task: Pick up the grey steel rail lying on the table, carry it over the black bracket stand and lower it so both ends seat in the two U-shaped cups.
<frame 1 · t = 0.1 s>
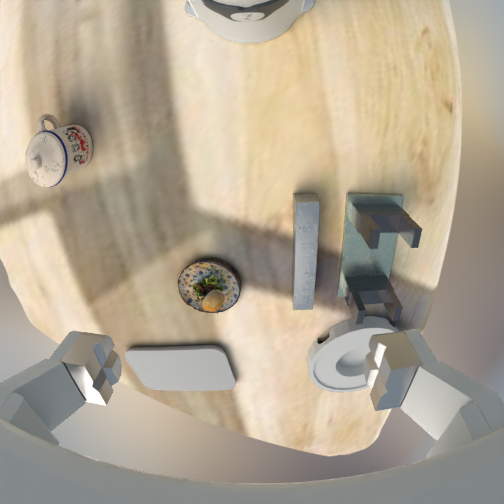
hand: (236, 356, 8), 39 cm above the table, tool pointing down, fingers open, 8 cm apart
bracket stand: (368, 247, 50), on the table
rail: (302, 248, 51), on the table
ashtray: (354, 350, 64), on the table
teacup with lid: (72, 140, 42), on the table
burger: (210, 283, 55), on the table
tablet: (181, 364, 68), on the table
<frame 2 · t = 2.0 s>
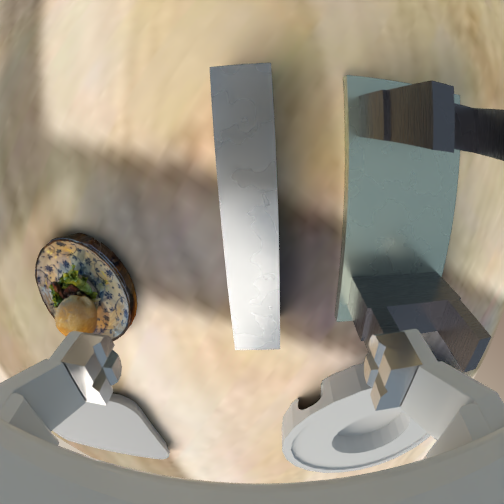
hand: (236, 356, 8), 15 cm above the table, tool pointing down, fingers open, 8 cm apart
bracket stand: (401, 207, 21), on the table
rail: (252, 208, 22), on the table
ashtray: (366, 413, 33), on the table
burger: (87, 286, 26), on the table
tablet: (90, 414, 37), on the table
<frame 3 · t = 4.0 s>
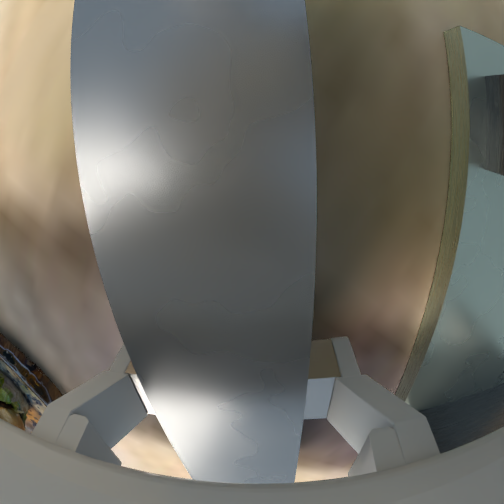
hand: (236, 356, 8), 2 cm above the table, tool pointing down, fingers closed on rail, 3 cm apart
rail: (240, 319, 10), on the table, touching gripper
burger: (14, 378, 14), on the table
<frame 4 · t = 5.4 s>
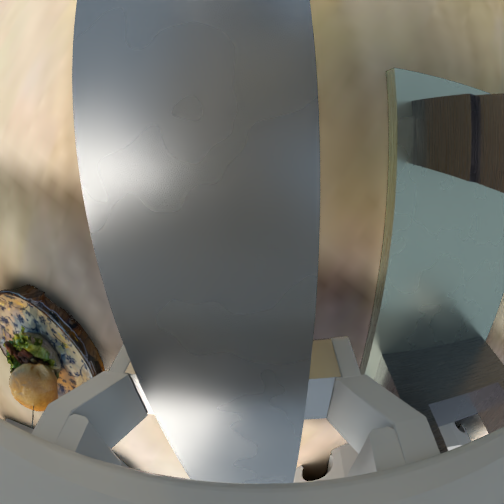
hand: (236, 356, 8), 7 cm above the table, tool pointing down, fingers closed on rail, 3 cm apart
bracket stand: (452, 261, 14), on the table
rail: (240, 320, 10), point 5 cm above the table, touching gripper
ashtray: (377, 469, 25), on the table
burger: (48, 343, 19), on the table
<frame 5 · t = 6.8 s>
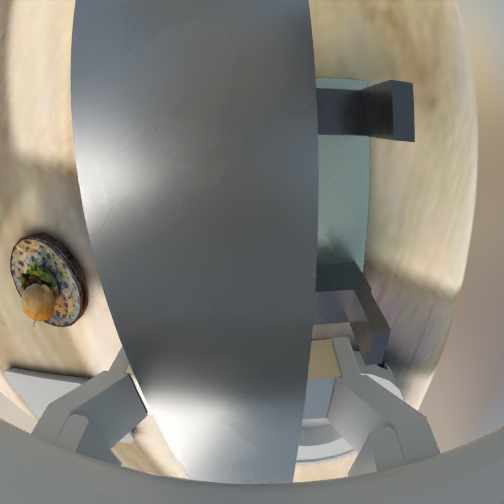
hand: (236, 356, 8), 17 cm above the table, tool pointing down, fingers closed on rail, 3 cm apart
bracket stand: (308, 199, 24), on the table
rail: (239, 321, 10), point 16 cm above the table, touching gripper
ashtray: (314, 406, 36), on the table
burger: (51, 278, 29), on the table
tablet: (66, 399, 40), on the table
when the fingers open (8 cm above the table, at t = 9.2 s): rail stays where it is, resting on bracket stand.
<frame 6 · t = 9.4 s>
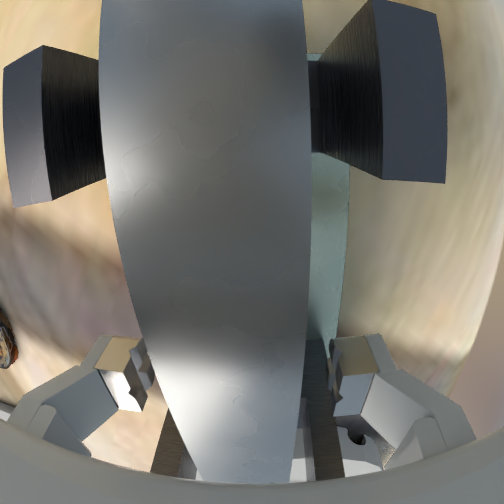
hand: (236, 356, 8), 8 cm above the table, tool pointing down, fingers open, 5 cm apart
bracket stand: (249, 250, 16), on the table
rail: (242, 308, 11), point 5 cm above the table, touching bracket stand
ashtray: (279, 468, 27), on the table
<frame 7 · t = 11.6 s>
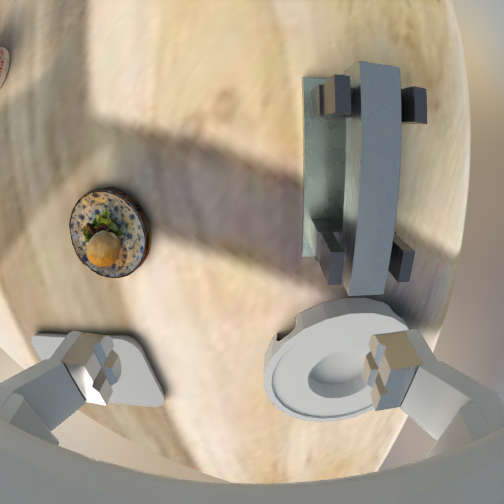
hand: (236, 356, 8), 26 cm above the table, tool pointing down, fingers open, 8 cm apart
bracket stand: (347, 169, 31), on the table
rail: (362, 176, 26), point 5 cm above the table, touching bracket stand
ashtray: (339, 358, 42), on the table
burger: (111, 231, 35), on the table
tablet: (96, 364, 46), on the table
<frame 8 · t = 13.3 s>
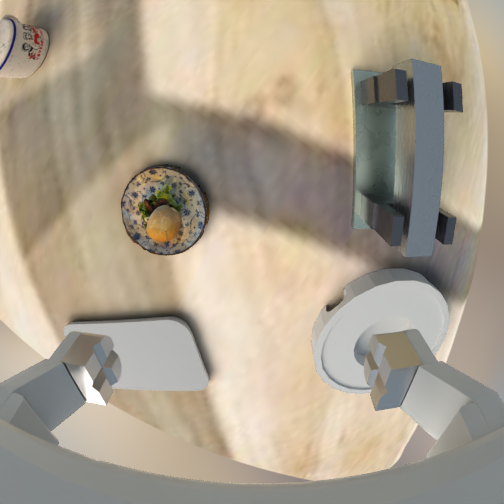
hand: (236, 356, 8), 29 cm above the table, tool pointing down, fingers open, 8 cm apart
bracket stand: (390, 151, 33), on the table
rail: (409, 155, 28), point 5 cm above the table, touching bracket stand
ashtray: (378, 329, 44), on the table
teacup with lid: (31, 46, 26), on the table
burger: (166, 209, 37), on the table
tablet: (135, 350, 48), on the table
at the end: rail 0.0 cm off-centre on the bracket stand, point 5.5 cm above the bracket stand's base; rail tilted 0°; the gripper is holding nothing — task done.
